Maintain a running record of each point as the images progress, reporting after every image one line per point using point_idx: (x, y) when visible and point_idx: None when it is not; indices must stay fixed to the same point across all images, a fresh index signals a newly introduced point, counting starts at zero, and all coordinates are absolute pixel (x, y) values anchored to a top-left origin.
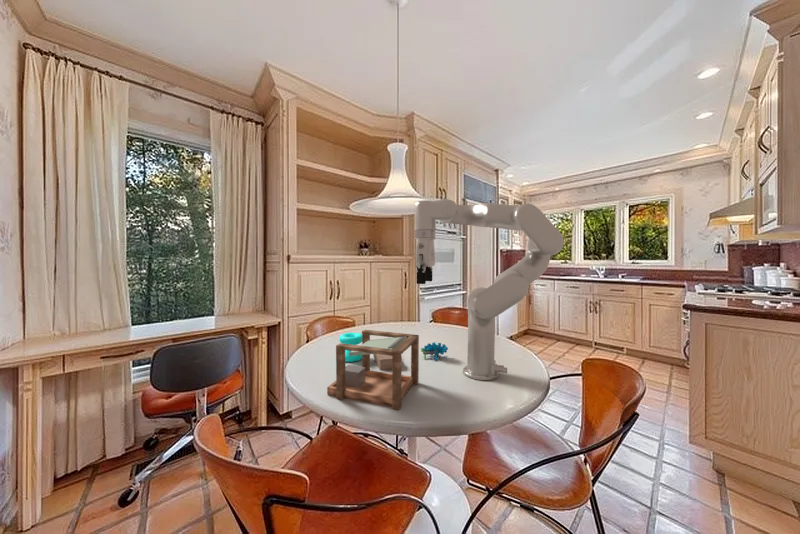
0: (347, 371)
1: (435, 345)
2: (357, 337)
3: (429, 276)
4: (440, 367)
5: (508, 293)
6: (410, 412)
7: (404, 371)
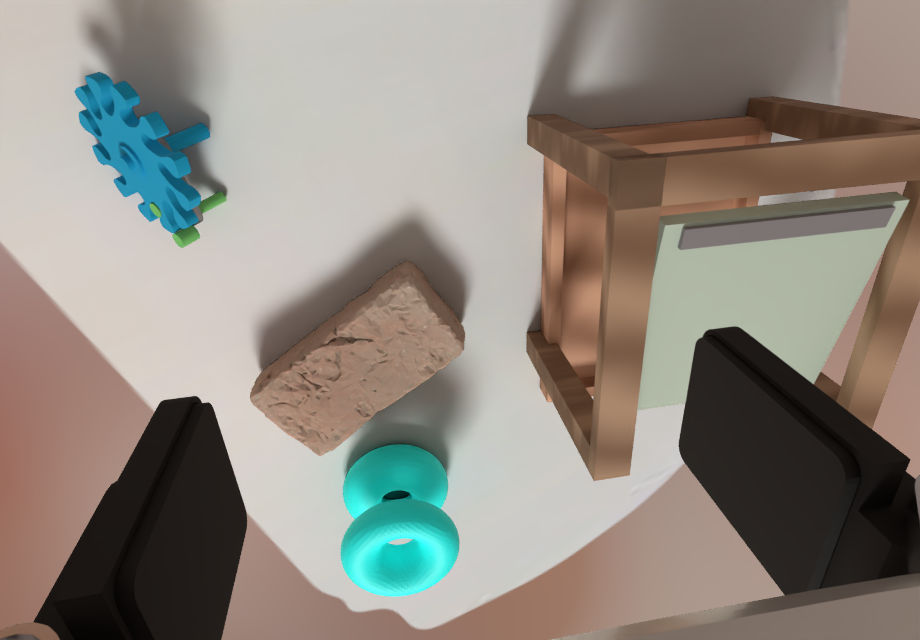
0: None
1: (172, 152)
2: (421, 525)
3: (198, 505)
4: (292, 69)
5: None
6: (781, 47)
7: (431, 226)
